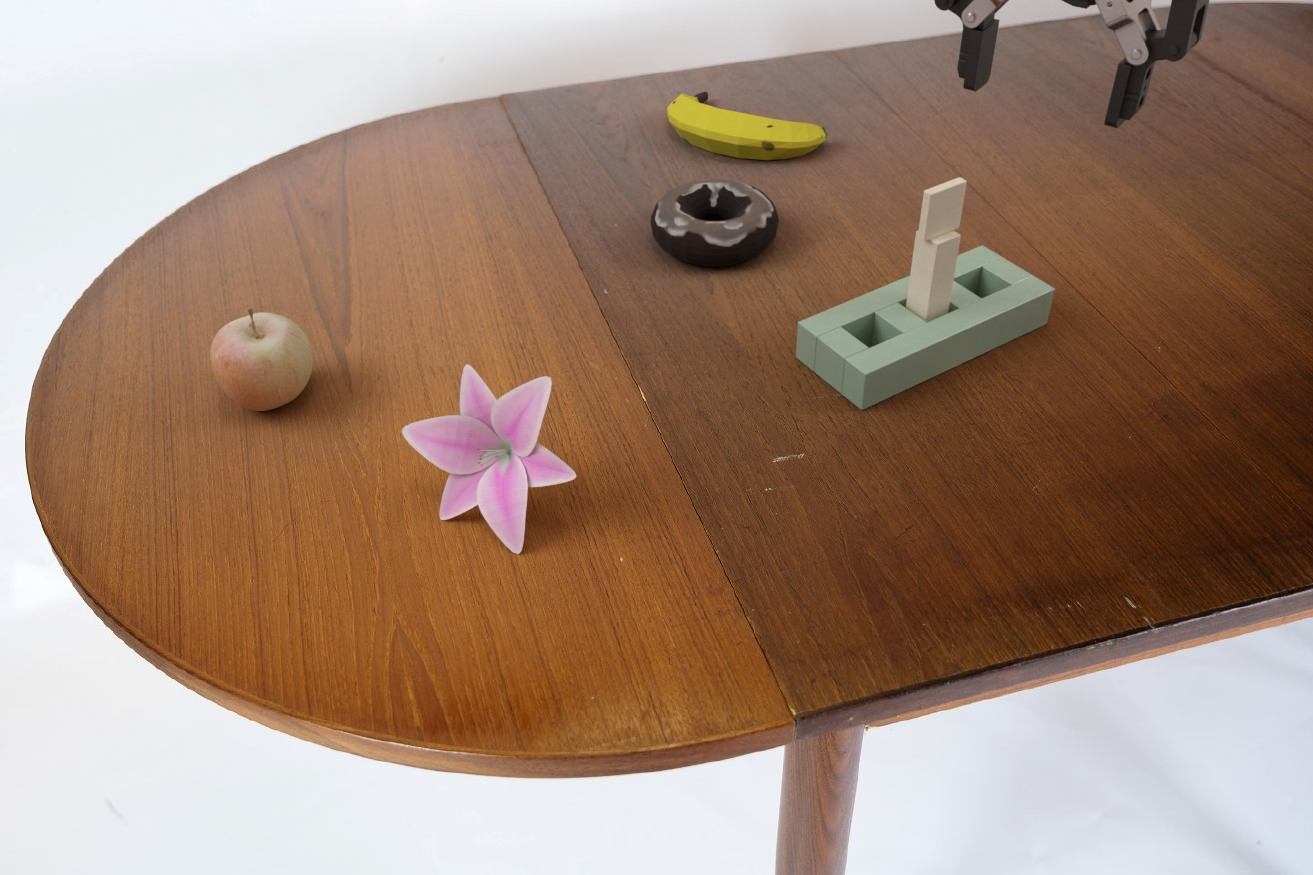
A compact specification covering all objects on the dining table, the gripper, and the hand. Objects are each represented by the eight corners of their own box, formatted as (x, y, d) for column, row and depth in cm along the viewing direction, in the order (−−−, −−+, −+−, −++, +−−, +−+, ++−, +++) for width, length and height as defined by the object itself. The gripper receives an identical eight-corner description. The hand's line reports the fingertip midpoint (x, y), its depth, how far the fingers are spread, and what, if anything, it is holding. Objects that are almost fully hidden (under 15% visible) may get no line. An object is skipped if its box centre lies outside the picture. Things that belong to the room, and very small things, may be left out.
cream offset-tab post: (949, 339, 92) (975, 185, 83) (915, 354, 91) (938, 199, 82) (928, 325, 94) (952, 172, 85) (895, 340, 92) (916, 185, 83)
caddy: (1047, 324, 93) (1055, 288, 91) (861, 411, 86) (865, 374, 83) (976, 279, 99) (982, 244, 96) (795, 357, 91) (797, 321, 89)
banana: (828, 129, 112) (834, 88, 125) (656, 110, 114) (679, 72, 127) (821, 173, 114) (828, 129, 127) (653, 154, 116) (676, 112, 129)
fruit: (240, 369, 92) (212, 286, 87) (330, 367, 92) (307, 284, 87) (212, 429, 87) (180, 345, 81) (307, 427, 86) (281, 342, 81)
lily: (408, 474, 83) (357, 430, 75) (530, 372, 85) (494, 316, 76) (506, 593, 79) (464, 561, 70) (632, 483, 81) (607, 438, 72)
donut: (802, 250, 103) (805, 211, 101) (692, 288, 99) (692, 249, 96) (734, 197, 111) (734, 160, 108) (628, 230, 107) (626, 193, 104)
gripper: (939, -213, 56) (903, 98, 67) (1236, -178, 49) (1143, 162, 60) (1004, -241, 61) (960, 55, 71) (1285, -212, 54) (1190, 110, 64)
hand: (1044, 103), depth 66 cm, fingers open, 8 cm apart
